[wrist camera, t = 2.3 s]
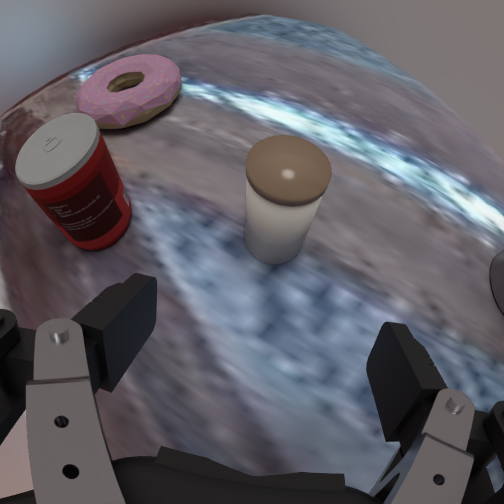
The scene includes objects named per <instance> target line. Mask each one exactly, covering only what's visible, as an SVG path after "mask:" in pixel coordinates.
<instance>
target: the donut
mask: <svg viewBox="0 0 504 504" xmlns="http://www.w3.org/2000/svg"><path fill="white" fill-rule="evenodd" d="M181 85H182V80H181V74H180V70H179V68H178V67H177V66H176V65H175V64H174V63H173V62H172V61H171V60H170V59H168V58H165V57H162V56H160V55H147V54H141V55H136V56H131V57H126V58H122V59H119V60H117V61H115V62H113V63H111V64H108V65H106V66H104V67H102V68H100V69H98V70H97V71H96V72H95V73H94V74H93V75H92V76H91V77H90V78H89V79H88V80H87V81H86V82H85V83H84V84H83V85H82V87H81V88H80V90H79V92H78V93H77V95H76V96H77V111H78V113H83V114H86V115H89V116H91V117H92V118H93V119H94V121H95V123H96V124H97V126H98V128H99V129H120V128H125V127H128V126H132V125H136V124H140V123H144V122H147V121H148V120H150V119H151V118H152V117H154V116H155V115H157V114H158V113H160V112H161V111H163V110H164V109H166V108H167V107H169V106H170V105H171V104H172V102H173V101H174V99H175V98H176V97H177V95H178V94H179V92H180V88H181ZM134 86H136V87H134ZM130 87H133V88H130ZM127 88H130V89H127ZM123 89H126V90H123ZM121 90H123V91H121ZM119 91H120V92H119Z"/></svg>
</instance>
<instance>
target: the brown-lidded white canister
mask: <svg viewBox="0 0 504 504" xmlns="http://www.w3.org/2000/svg"><path fill="white" fill-rule="evenodd" d="M331 174H332V172H331V165H330V162H329V160H328V158H327V157H326V155H325V154H324V153H323V152H322V150H320V149H319V148H318V147H317V146H316V145H314V144H313V143H311V142H309V141H307V140H305V139H302V138H299V137H295V136H287V135H279V136H272V137H268V138H265V139H263V140H261V141H259V142H258V143H256V144H255V145H254V146H253V147H252V148H251V150H250V151H249V153H248V155H247V159H246V177H247V188H246V209H245V230H244V240H245V245H246V247H247V249H248V251H249V252H250V253H251V255H253V256H254V257H255V258H256V259H258V260H259V261H261V262H264V263H267V264H283V263H286V262H288V261H290V260H292V259H293V258H295V257H296V256H297V254H298V253H299V251H300V250H301V247H302V245H303V242H304V240H305V238H306V235H307V233H308V230H309V228H310V225H311V223H312V220H313V218H314V215H315V213H316V210H317V208H318V205H319V203H320V200H321V198H322V195H323V194H324V193H325V191H326V189H327V187H328V184H329V182H330V179H331Z"/></svg>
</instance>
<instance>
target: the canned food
mask: <svg viewBox="0 0 504 504" xmlns="http://www.w3.org/2000/svg"><path fill="white" fill-rule="evenodd" d="M15 169H16V174H17V177H18V179H19V180H20V182H21V184H22V185H23V186H24V188H25V189H26V190H27V192H28V193H29V194H30V195H31V197H32V198H33V199H34V200H35V202H36V203H37V204H38V205H39V206H40V208H41V209H42V210H43V211H44V212H45V213H46V215H47V216H48V217H49V218H50V219H51V220H52V221H53V223H54V224H55V225H56V226H57V227H58V228H59V229H60V230H61V232H62V233H63V234H64V235H65V236H66V237H67V238H68V239H69V240H70V241H71V242H72V243H73V244H74V245H76V246H78V247H80V248H83V249H87V250H99V249H103V248H105V247H108V246H110V245H111V244H113V243H114V242H116V241H117V240H118V239H119V238H120V237H121V236H122V235H123V233H124V232H125V230H126V229H127V227H128V225H129V222H130V218H131V203H130V199H129V196H128V194H127V192H126V190H125V188H124V185H123V183H122V181H121V179H120V177H119V174H118V172H117V170H116V167H115V165H114V163H113V161H112V158H111V156H110V154H109V151H108V149H107V146H106V144H105V142H104V139H103V137H102V135H101V133H100V130H99V128H98V126H97V124H96V123H95V121H94V119H93V118H92V117H91V116H89V115H86V114H83V113H71V114H66V115H63V116H60V117H57V118H55V119H53V120H51V121H49V122H48V123H46V124H45V125H43V126H42V127H40V128H39V129H38V130H37V131H36V132H35V133H34V134H32V135H31V137H30V138H29V139H28V140H27V141H26V143H25V144H24V145H23V147H22V148H21V150H20V152H19V154H18V157H17V160H16V167H15Z"/></svg>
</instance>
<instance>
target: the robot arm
mask: <svg viewBox="0 0 504 504" xmlns="http://www.w3.org/2000/svg"><path fill="white" fill-rule="evenodd" d="M490 278H491V285H492V290H493V294H494V297H495V299H496V302H497V304H498V306H499V307H500V309H501V311H502V312H503V313H504V250H502V251H501V252H500V253H498V254H497V255H496V256H495V257H494V259H493V261H492V264H491V271H490ZM156 306H157V280H156V278H155V277H152V276H148V275H143V274H139V273H134V274H133V275H132V276H130V277H129V278H128V279H127V280H126V281H125V282H124V283H117V284H114V285H112V286H109V287H107V288H106V289H105V290H103V291H102V292H101V293H100V294H99V296H97V297H95V298H94V299H93V300H92V302H90V303H89V304H87V305H86V306H85V307H84V308H83V309H82V310H81V311H79V312H78V313H77V314H76V315H75V316H74V317H73V318H72V319H71V320H69V319H53V320H49V321H47V322H45V323H43V324H42V325H40V326H39V328H38V329H37V330H32V329H26V328H20V327H18V324H17V320H16V316H15V315H14V313H13V312H11V311H9V310H6V309H0V445H1V444H2V442H3V441H4V439H5V438H6V436H7V435H8V433H9V432H10V430H11V429H12V428H13V426H14V425H15V423H16V422H17V420H18V419H19V417H20V416H21V415H22V414H23V412H24V411H25V409H26V421H27V438H28V449H29V459H30V467H31V475H32V481H33V487H34V489H33V490H30V491H27V492H23V493H20V494H16V495H13V496H9V497H5V498H1V499H0V504H504V484H503V486H502V488H501V489H500V490H499V491H498V492H496V493H495V492H494V489H493V486H492V483H491V480H490V477H489V474H488V471H487V468H486V467H487V466H488V465H489V464H490V463H491V462H492V461H493V460H494V459H495V458H496V456H497V455H498V458H499V460H500V463H501V465H502V468H503V471H504V401H499V402H497V403H496V404H495V405H494V406H493V408H492V409H491V410H490V412H489V413H486V412H481V411H477V410H474V405H473V403H472V402H471V400H470V399H469V398H468V397H467V396H466V395H465V394H463V393H462V392H460V391H458V390H455V389H448V388H447V386H446V384H445V382H444V380H443V379H442V377H441V375H440V373H439V371H438V370H437V368H436V366H434V363H433V361H432V359H431V358H430V356H429V354H428V352H427V351H426V349H425V347H424V346H422V345H421V344H420V343H419V342H418V341H417V340H416V339H414V337H413V336H412V334H411V332H410V331H409V329H408V327H407V326H406V325H405V324H401V323H393V322H385V323H384V324H383V325H382V327H381V329H380V332H379V334H378V336H377V339H376V341H375V343H374V346H373V348H372V350H371V353H370V355H369V357H368V361H367V367H366V371H367V376H368V379H369V382H370V386H371V389H372V393H373V396H374V400H375V403H376V407H377V410H378V414H379V418H380V421H381V425H382V429H383V433H384V437H385V441H386V442H396V441H400V446H399V448H398V449H397V450H396V452H395V453H394V455H393V457H392V458H391V460H390V462H389V463H388V465H387V467H386V468H385V470H384V471H383V473H382V474H381V476H380V478H379V479H378V481H377V482H376V484H375V485H374V487H373V488H372V489H371V491H370V492H369V493H368V494H367V493H365V492H362V491H360V490H358V489H355V488H352V487H348V486H345V478H344V474H329V473H308V472H298V473H290V474H281V475H270V476H250V475H247V474H244V473H242V472H239V471H236V470H234V469H231V468H229V467H227V466H224V465H222V464H219V463H217V462H215V461H212V460H210V459H208V458H205V457H201V456H197V455H193V454H189V453H185V452H181V451H178V450H174V449H171V448H167V447H164V446H161V447H160V450H159V452H158V455H157V457H152V456H137V457H127V458H121V459H117V460H113V459H112V456H111V453H110V450H109V447H108V443H107V440H106V437H105V433H104V429H103V426H102V422H101V418H100V414H99V410H98V406H97V402H96V398H95V393H96V392H97V391H98V389H99V388H101V389H103V390H106V391H108V392H111V393H112V391H113V390H114V388H115V387H116V385H117V384H118V382H119V381H120V379H121V378H122V376H123V375H124V373H125V372H126V370H127V369H128V367H129V366H130V364H131V363H132V361H133V360H134V358H135V357H136V355H137V354H138V352H139V351H140V349H141V348H142V346H143V345H144V343H145V342H146V341H147V339H148V338H149V336H150V335H151V333H152V331H153V329H154V326H155V322H156Z"/></svg>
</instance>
